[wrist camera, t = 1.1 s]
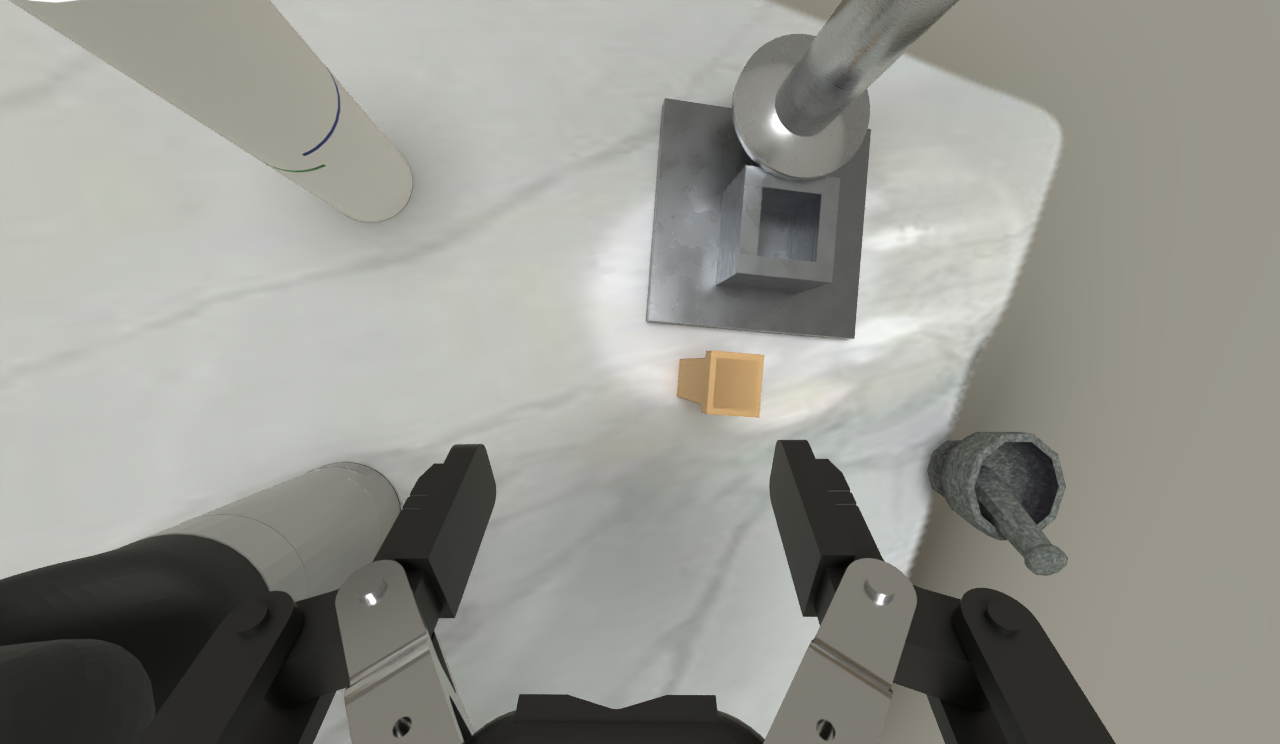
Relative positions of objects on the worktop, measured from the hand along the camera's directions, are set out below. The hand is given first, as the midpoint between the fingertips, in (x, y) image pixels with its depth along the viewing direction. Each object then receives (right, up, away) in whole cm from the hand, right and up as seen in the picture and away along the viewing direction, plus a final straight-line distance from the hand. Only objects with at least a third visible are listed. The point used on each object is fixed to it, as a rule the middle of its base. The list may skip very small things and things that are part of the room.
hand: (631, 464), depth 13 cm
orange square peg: (+5, +2, +32) cm, 32 cm away
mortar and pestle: (+32, -8, +35) cm, 49 cm away
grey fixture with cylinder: (+12, +18, +32) cm, 38 cm away
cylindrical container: (-23, +19, +28) cm, 41 cm away
